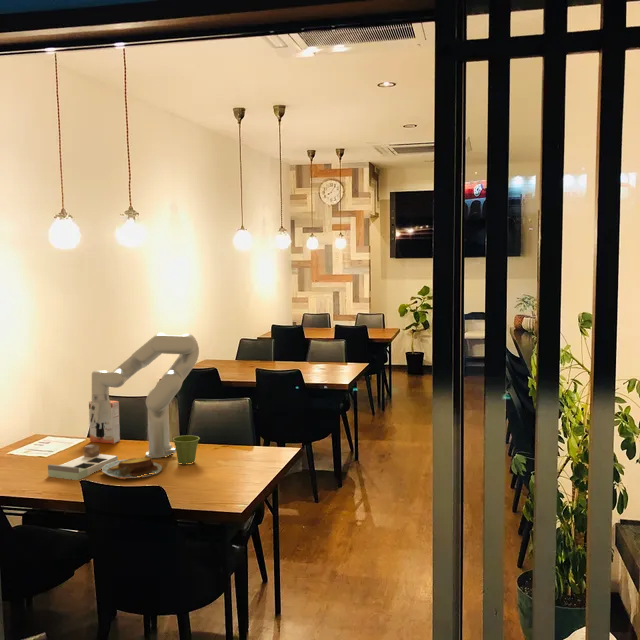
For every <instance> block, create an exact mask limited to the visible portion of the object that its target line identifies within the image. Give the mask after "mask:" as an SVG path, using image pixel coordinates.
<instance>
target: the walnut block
mask: <svg viewBox="0 0 640 640" xmlns="http://www.w3.org/2000/svg"><path fill="white" fill-rule="evenodd" d="M99 454H100V445H99V444H88V445H85V446H84V447H83V456H84V457H91V458H93V457H95V456H98V455H99Z"/></svg>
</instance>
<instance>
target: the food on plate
mask: <svg viewBox="0 0 640 640" xmlns="http://www.w3.org/2000/svg"><path fill="white" fill-rule="evenodd" d="M101 469H102V470H101V472H102V473H104V474H105V475H106V476H109V477H112V478H115V479H116V478H118V479H119V480H126V479H139V478H140V477H137V476H141V475H144V474H149V473H155V472H156V473H155V474H152V475H145V476H141V477H142V478H145V477H146V478H148V477H150V476H153V475H156V474H158V473H160V472H161V471H162V469H163V466H162V465H161V464H159V463H156V462H154V461H152V458H150V457H139V458H136V457H135V458H134V457H133V458H128V459H126V458H125V459H119V460H118V461H115V462H111V463H108V464H106V465H104V466H102V468H101Z"/></svg>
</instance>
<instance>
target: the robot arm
mask: <svg viewBox="0 0 640 640" xmlns="http://www.w3.org/2000/svg"><path fill="white" fill-rule="evenodd" d="M199 347H200V346H199V343H198V341H197V339H196V338H195V336H194V335H193V334H191V333H183V334H182V335H181V334H180V335H169V334H168V335H167V333H164V332H159V333H156V334H155V335H153V337H150V339H149V340H148V341H147V342H145V343H143V345H141V346H140V347H139V348H138V349H137V350H135V351H134V352H133V353H132V354H131V356H129V357H127V359H126V360H124V361H123V363H120V364H119V366H117V367H116V368H115V369H114V370H113V371H108V370H102V369H100V370H99V369H97V370H94V371H92V372H91V400H90V401H91V407H90V422H91V423H92V425H91V426H95V428H96V437H104V428H105V424H106V423H107V422H108V421H109V420H111V404H110V401H111V400H110V388H120V387H122V386H124V384H126V382H127V381H128V380H129V379H130V378H131V377H132V376H133V377H134V375H135V374H136V373H137V372H139V371H140V370H142V369H144V368H146V367H148V366H149V365H150V364H151V363H152V362H153V361H156V359H157V358H158V357H159V356H161V355H162V354H166V355H178V357H177V358H176V359H175V361H174V362H173V363H172V365H170V367H169V369H168V370H167V371H166V372H165V373H164V374H163V375H162V377H161V379H160V380H159V381H158V383H157V384H156V385H155V386H154V388H152V389H151V390H150V391H149V392H148V393H147V396H146V399H145V406H146V408H147V428H148V429H147V436H148V437H147V438H148V451H146V452H145V458H147V457H150V458H151V459H160V458H159V457H165V456H168V455H171V454H172V453H173V454H177V453H176V447H172V444H170V403H171V402H172V400H173V399H174V398H175V396H176V395H177V394H178V393H179V391H180V390H181V388H182V387H183V386H182V385H183V382H184V380H186V378H187V376H189V374H190V372H191V371H193V368H194V367H195V365H196V363H197V361H198V360H199V353H200V348H199ZM171 456H172V455H171ZM165 458H166V457H165Z"/></svg>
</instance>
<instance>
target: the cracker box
mask: <svg viewBox="0 0 640 640" xmlns="http://www.w3.org/2000/svg"><path fill="white" fill-rule="evenodd" d="M91 401H92V400H90V401H88V415H89V417H88V421H89V441H91V443H99V444H100V443H102V444H103V443H104V444H112V445H113V444H116V443H118V442H120V441H121V434H120V433H121V431H120V428H121V427H120V404H119V403H120V401H118V400H110V404H111V420H109V421H108V422H107V423H106V424H105V428H104V437H96V428H95V426H91V425H92V423H91V422H90V407H91Z"/></svg>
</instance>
